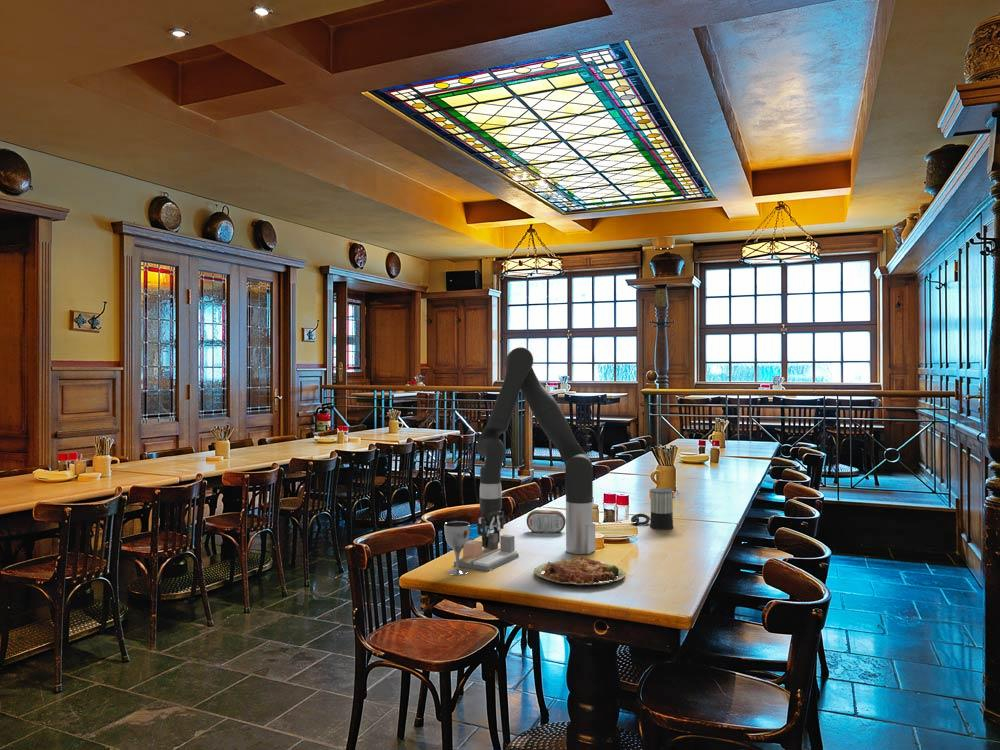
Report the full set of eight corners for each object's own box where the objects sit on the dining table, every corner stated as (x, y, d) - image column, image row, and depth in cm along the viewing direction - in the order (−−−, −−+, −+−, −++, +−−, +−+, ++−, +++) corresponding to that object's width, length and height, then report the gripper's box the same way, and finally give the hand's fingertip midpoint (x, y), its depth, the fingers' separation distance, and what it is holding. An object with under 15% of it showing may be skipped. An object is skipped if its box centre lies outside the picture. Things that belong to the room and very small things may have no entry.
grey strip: (516, 553, 232) (516, 536, 232) (487, 566, 216) (487, 548, 216) (502, 551, 235) (502, 534, 235) (472, 564, 219) (472, 545, 219)
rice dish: (558, 563, 230) (557, 546, 230) (638, 571, 216) (638, 553, 216) (517, 586, 205) (516, 567, 206) (605, 596, 191) (604, 577, 192)
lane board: (518, 557, 232) (518, 550, 232) (488, 571, 216) (488, 564, 216) (485, 552, 239) (485, 545, 239) (453, 565, 223) (453, 558, 223)
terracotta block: (482, 555, 227) (482, 541, 227) (474, 558, 223) (474, 544, 223) (470, 553, 229) (470, 540, 229) (463, 556, 225) (462, 542, 225)
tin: (565, 531, 268) (565, 510, 268) (565, 533, 265) (565, 511, 265) (526, 531, 269) (526, 509, 269) (526, 533, 266) (526, 511, 266)
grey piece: (499, 550, 235) (499, 533, 235) (470, 563, 220) (470, 545, 220) (486, 548, 238) (486, 532, 238) (456, 561, 223) (455, 543, 223)
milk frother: (676, 529, 270) (675, 491, 270) (635, 530, 270) (635, 492, 270) (668, 522, 284) (668, 485, 284) (629, 522, 284) (629, 485, 284)
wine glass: (446, 568, 219) (445, 521, 219) (471, 568, 219) (470, 521, 219) (443, 575, 211) (442, 526, 211) (469, 576, 211) (468, 526, 211)
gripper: (488, 500, 227) (489, 551, 227) (510, 493, 240) (511, 541, 240) (469, 498, 231) (470, 548, 231) (492, 491, 244) (492, 539, 244)
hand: (491, 544), depth 236 cm, fingers open, 6 cm apart
